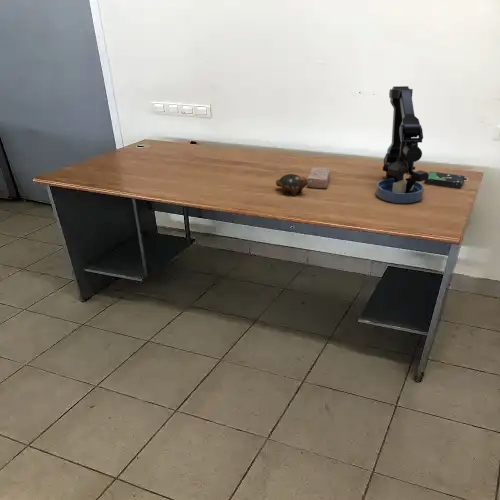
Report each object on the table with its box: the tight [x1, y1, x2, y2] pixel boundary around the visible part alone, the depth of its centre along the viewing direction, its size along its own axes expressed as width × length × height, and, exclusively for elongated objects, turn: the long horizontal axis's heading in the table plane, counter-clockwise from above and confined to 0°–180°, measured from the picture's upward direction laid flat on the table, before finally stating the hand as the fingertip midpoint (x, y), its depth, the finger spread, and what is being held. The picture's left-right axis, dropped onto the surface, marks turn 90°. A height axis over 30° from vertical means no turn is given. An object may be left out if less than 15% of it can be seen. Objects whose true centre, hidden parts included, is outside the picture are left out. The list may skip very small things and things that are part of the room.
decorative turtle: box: [275, 173, 308, 197], centre depth 210 cm, size 10×15×8 cm, turn 57°
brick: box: [307, 167, 331, 189], centre depth 221 cm, size 17×8×5 cm, turn 167°
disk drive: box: [424, 171, 466, 189], centre depth 218 cm, size 10×3×15 cm
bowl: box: [375, 178, 425, 205], centre depth 205 cm, size 18×18×4 cm
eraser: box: [392, 178, 414, 193], centre depth 205 cm, size 8×4×5 cm, turn 125°
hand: (402, 191), depth 206 cm, fingers closed on eraser, 4 cm apart
